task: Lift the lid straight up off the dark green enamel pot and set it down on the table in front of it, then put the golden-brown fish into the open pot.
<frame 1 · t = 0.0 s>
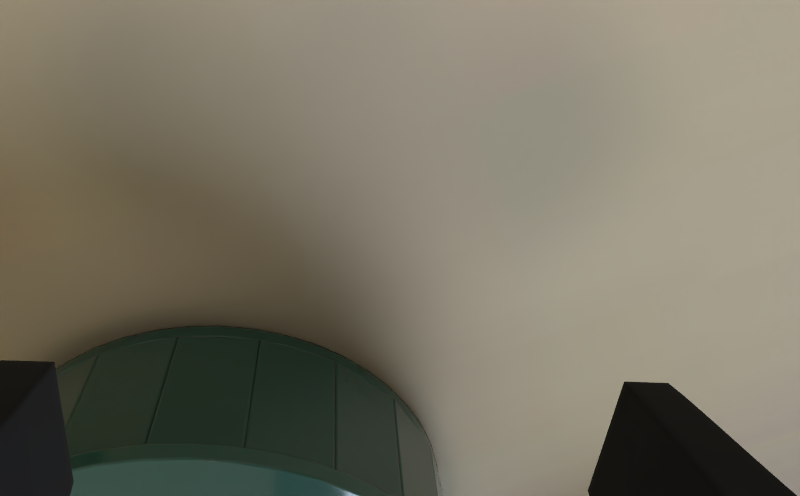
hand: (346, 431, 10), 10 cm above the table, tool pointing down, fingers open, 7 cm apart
when the fingers open (2 cm above the table, at t = 8.1 s): pot lid stays where it is, point 1 cm above the table.
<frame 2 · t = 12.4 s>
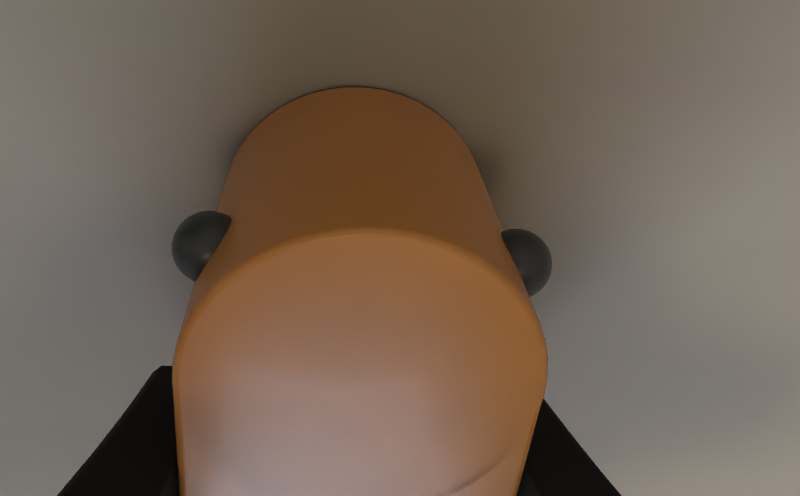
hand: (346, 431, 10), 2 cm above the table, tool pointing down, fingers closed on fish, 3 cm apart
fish: (343, 353, 11), on the table, touching gripper
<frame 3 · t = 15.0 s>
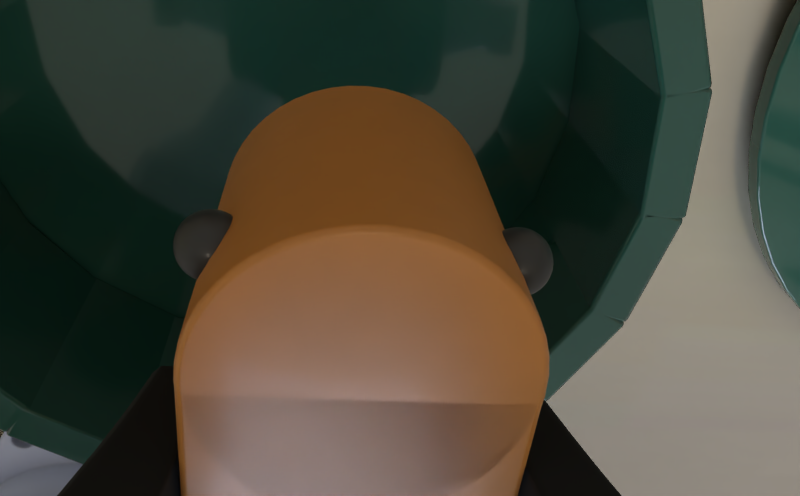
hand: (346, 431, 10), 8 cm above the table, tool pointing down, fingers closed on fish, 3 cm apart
pot: (275, 75, 16), on the table
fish: (343, 352, 11), point 7 cm above the table, touching gripper
when the fingers open (2 cm above the table, at t = 17.5 s): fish stays where it is, resting on pot.
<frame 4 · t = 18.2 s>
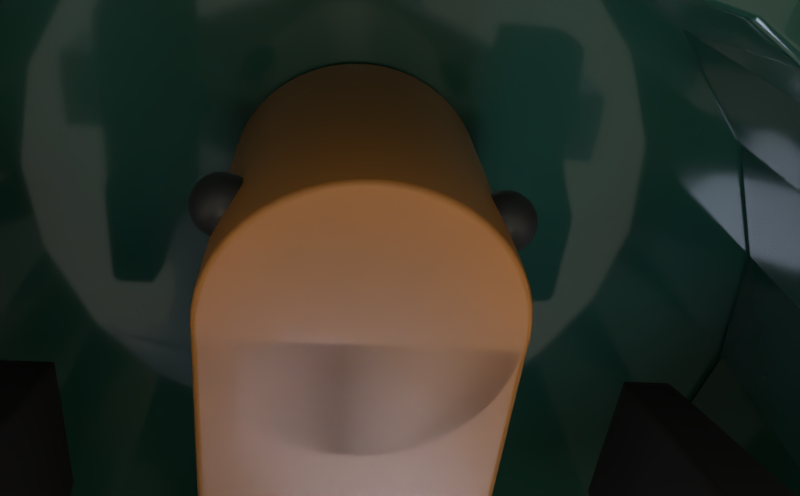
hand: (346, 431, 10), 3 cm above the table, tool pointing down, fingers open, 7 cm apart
pot: (344, 304, 12), on the table
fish: (344, 319, 12), resting on pot
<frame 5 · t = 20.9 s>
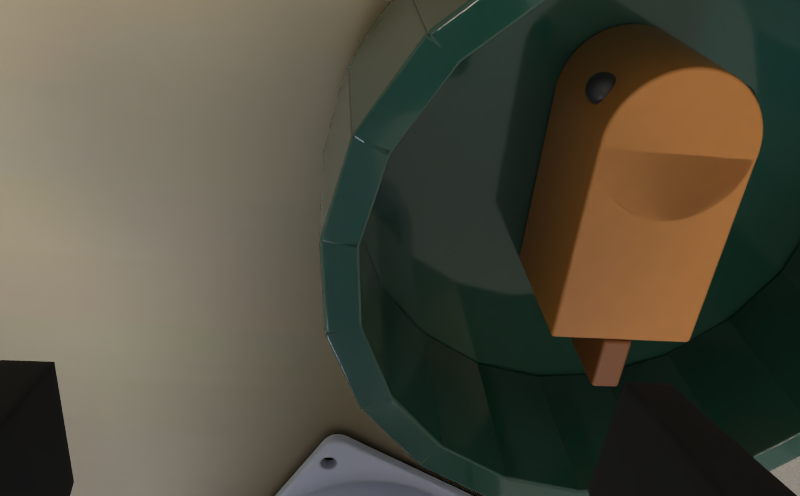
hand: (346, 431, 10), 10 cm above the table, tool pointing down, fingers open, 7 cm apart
pot: (592, 176, 20), on the table
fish: (598, 183, 19), resting on pot
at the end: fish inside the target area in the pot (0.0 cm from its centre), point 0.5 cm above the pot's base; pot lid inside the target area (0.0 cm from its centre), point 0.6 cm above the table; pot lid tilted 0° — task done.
